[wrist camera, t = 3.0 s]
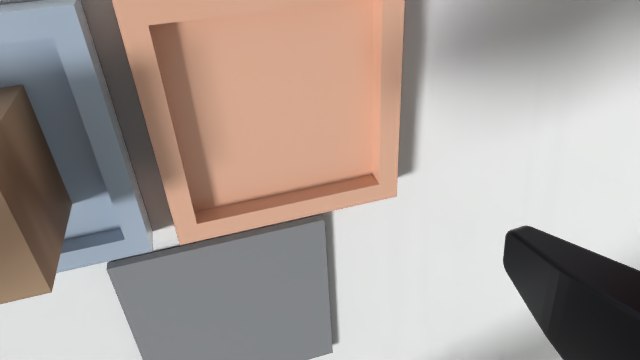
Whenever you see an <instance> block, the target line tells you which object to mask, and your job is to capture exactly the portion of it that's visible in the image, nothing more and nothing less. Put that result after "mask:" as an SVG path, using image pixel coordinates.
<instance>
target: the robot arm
mask: <svg viewBox="0 0 640 360" xmlns="http://www.w3.org/2000/svg"><path fill="white" fill-rule="evenodd" d="M503 264H504V268H505V270H506V272H507V274H508V276H509V277H510V279H511V280H512V282H513V284H514V285H515V287H516V289H517V290H518V292H519V294H520V295H521V297H522V298H523V300H524V302H525V303H526V305H527V307H528V308H529V310H530V312H531V313H532V315H533V316H534V318H535V320H536V321H537V323H538V325H539V326H540V328H541V329H542V331H543V332H544V334H545V336H546V337H547V338H548V340H549V341H550V343H551V344H552V345H553V347H554V348H555V349H556V351H557V352H558V353H559V355H560V356H561V357H562V359H563V360H640V271H639V270H636V269H634V268H632V267H629V266H627V265H624V264H622V263H619V262H617V261H614V260H612V259H609V258H607V257H604V256H602V255H600V254H597V253H595V252H592V251H590V250H587V249H585V248H582V247H580V246H577V245H575V244H573V243H570V242H568V241H565V240H563V239H560V238H558V237H555V236H553V235H550V234H548V233H545V232H543V231H541V230H538V229H536V228H533V227H530V226H522V227H519V228H516V229H513V230H510V231H508V232H507V234H506V237H505V246H504V256H503Z"/></svg>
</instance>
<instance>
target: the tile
mask: <svg viewBox="0 0 640 360" xmlns="http://www.w3.org/2000/svg"><path fill="white" fill-rule="evenodd" d="M107 271H108V274H109V276H110V279H111V281H112V284H113V286H114V289H115V291H116V294H117V296H118V299H119V301H120V304H121V306H122V309H123V311H124V314H125V316H126V319H127V321H128V324H129V326H130V329H131V331H132V334H133V336H134V339H135V341H136V344H137V346H138V349H139V351H140V354H141V356H142V358H143V360H309V359H312V358H315V357H319V356H322V355H326V354H329V353H333V350H332V333H331V317H330V301H329V284H328V268H327V251H326V235H325V219H324V218H323V216H322V214H321V215H317V216H312V217H308V218H304V219H299V220H295V221H290V222H286V223H281V224H277V225H273V226H268V227H264V228H259V229H255V230H250V231H246V232H242V233H237V234H233V235H228V236H224V237H219V238H215V239H211V240H206V241H202V242H197V243H193V244H188V245H184V246H179V247H175V248H171V249H166V250H162V251H157V252H153V253H148V254H144V255H140V256H135V257H131V258H126V259H122V260H117V261H113V262H109V263H107Z"/></svg>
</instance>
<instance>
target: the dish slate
mask: <svg viewBox="0 0 640 360" xmlns="http://www.w3.org/2000/svg"><path fill="white" fill-rule="evenodd" d="M16 85H23V86H24V88H25V91H26V93H27V95H28V98H29V100H30V103H31V105H32V107H33V110H34V112H35V115H36V117H37V120H38V122H39V124H40V127H41V129H42V132H43V134H44V137H45V139H46V141H47V144H48V146H49V149H50V151H51V153H52V156H53V158H54V161H55V163H56V166H57V168H58V170H59V173H60V175H61V178H62V180H63V183H64V185H65V187H66V190H67V192H68V195H69V197H70V199H71V202H72V208H71V212H70V216H69V220H68V224H67V229H66V233H65V237H64V241H63V246H62V250H61V254H60V258H59V263H58V267H57V271H56V273H58V272H63V271H67V270H72V269H76V268H80V267H85V266H89V265H94V264H98V263H103V262H107V261H112V260H116V259H120V258H125V257H129V256H134V255H138V254H143V253H147V252H152V251H153V231H152V228H151V225H150V222H149V219H148V215H147V212H146V209H145V206H144V203H143V199H142V196H141V193H140V190H139V187H138V183H137V180H136V177H135V174H134V171H133V167H132V164H131V161H130V158H129V155H128V151H127V148H126V145H125V142H124V139H123V136H122V132H121V129H120V126H119V123H118V120H117V116H116V113H115V110H114V107H113V104H112V100H111V97H110V94H109V91H108V88H107V84H106V81H105V78H104V75H103V72H102V68H101V65H100V62H99V59H98V56H97V52H96V49H95V46H94V43H93V40H92V36H91V33H90V30H89V27H88V24H87V20H86V17H85V14H84V11H83V8H82V4H81V1H80V0H39V1H30V2H21V3H12V4H3V5H0V88H3V87H10V86H16Z"/></svg>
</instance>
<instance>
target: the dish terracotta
mask: <svg viewBox="0 0 640 360" xmlns="http://www.w3.org/2000/svg"><path fill="white" fill-rule="evenodd" d="M112 3H113V7H114V10H115V14H116V18H117V21H118V25H119V28H120V32H121V36H122V39H123V43H124V46H125V50H126V54H127V57H128V61H129V64H130V68H131V71H132V75H133V79H134V82H135V86H136V89H137V93H138V97H139V100H140V104H141V107H142V111H143V115H144V118H145V122H146V125H147V129H148V133H149V136H150V140H151V143H152V147H153V150H154V154H155V158H156V161H157V165H158V168H159V172H160V176H161V179H162V183H163V186H164V190H165V194H166V197H167V201H168V204H169V208H170V212H171V215H172V219H173V222H174V226H175V229H176V233H177V237H178V240H179V244H180V245H183V244H187V243H192V242H196V241H200V240H205V239H209V238H214V237H218V236H223V235H227V234H232V233H236V232H240V231H245V230H249V229H254V228H258V227H263V226H267V225H272V224H276V223H280V222H285V221H289V220H294V219H298V218H303V217H307V216H312V215H316V214H320V213H325V212H329V211H334V210H338V209H343V208H347V207H351V206H356V205H360V204H365V203H369V202H374V201H378V200H383V199H387V198H391V197H396V196H397V178H398V153H399V129H400V105H401V80H402V56H403V32H404V7H405V0H112Z"/></svg>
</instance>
